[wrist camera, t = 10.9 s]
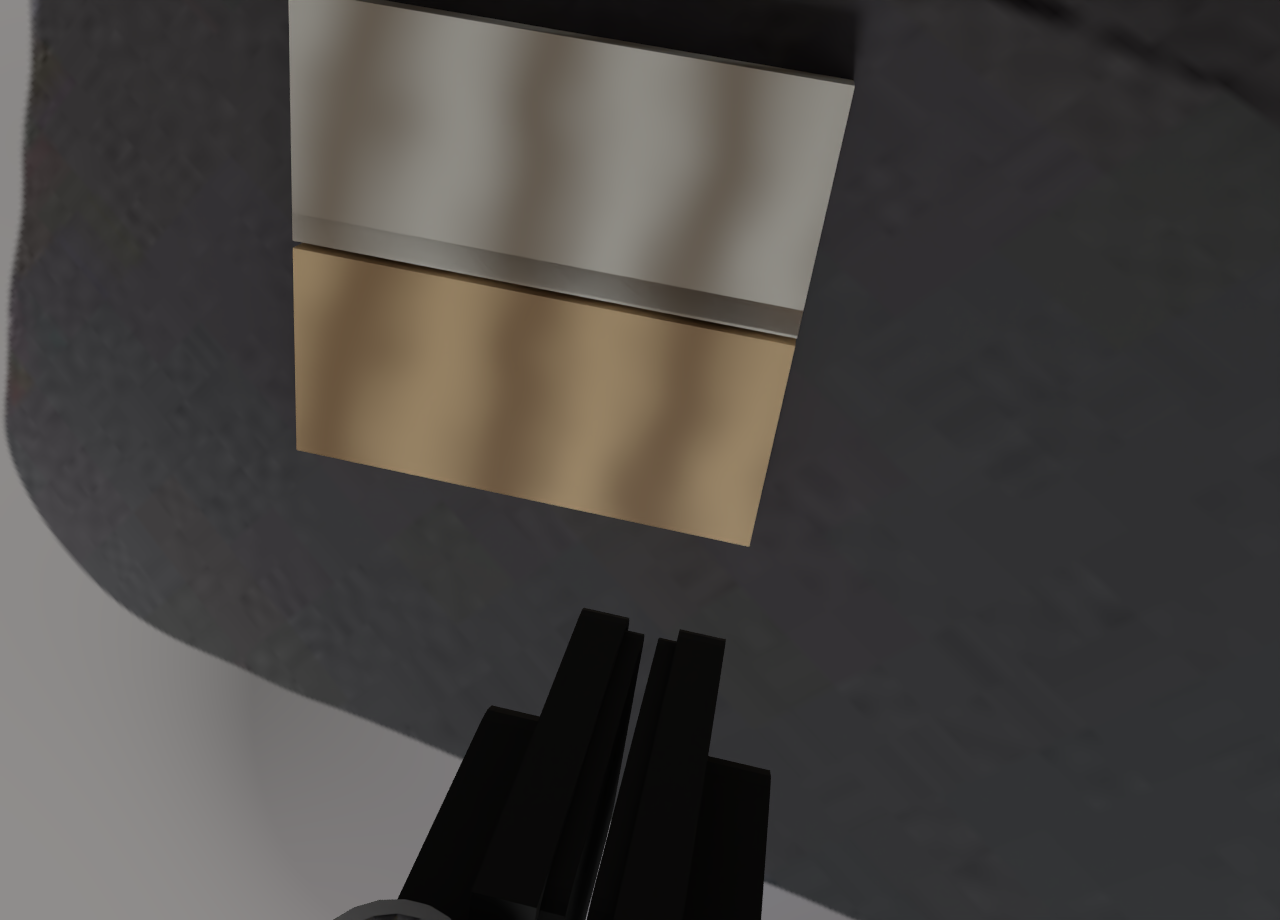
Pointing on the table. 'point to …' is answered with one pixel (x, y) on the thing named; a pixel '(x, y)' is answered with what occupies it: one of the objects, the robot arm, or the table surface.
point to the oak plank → (535, 392)
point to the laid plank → (562, 159)
